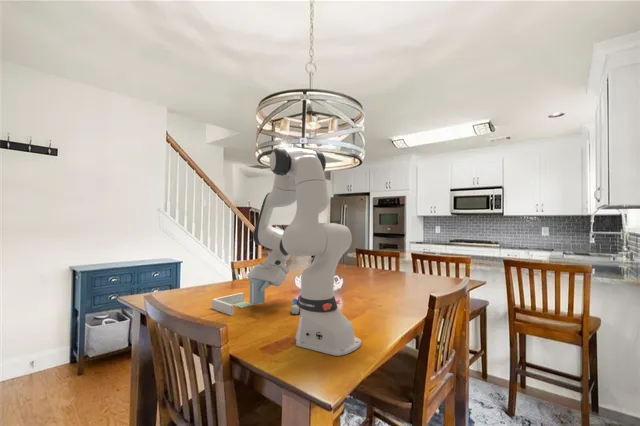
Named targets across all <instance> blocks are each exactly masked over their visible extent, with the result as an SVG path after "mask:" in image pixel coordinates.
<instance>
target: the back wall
mask: <svg viewBox="0 0 640 426" xmlns="http://www.w3.org/2000/svg"><path fill="white" fill-rule="evenodd" d="M244 298H245V293H244V292H238V293H235V294H231V295H230V294H229V295H225V296H224V295H223V296H221V297H216V298H212V299H211V309H213V300H214V299H217V300H220V301H223V302H226V303H229V304H236V303H240V302H244V301H245V299H244ZM213 310H214V309H213Z"/></svg>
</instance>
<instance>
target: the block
mask: <svg viewBox="0 0 640 426" xmlns="http://www.w3.org/2000/svg"><path fill="white" fill-rule="evenodd" d="M264 284H265V281H264V280H259V279H256V280H249V303H252V304H254V305H260V304H264V303H265V300H266V299H265V293H266V292H265V290H266V289H265V290H264V291H263V292H260V291H259V288H260V286H261V287H262V286H263V285H264Z"/></svg>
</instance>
